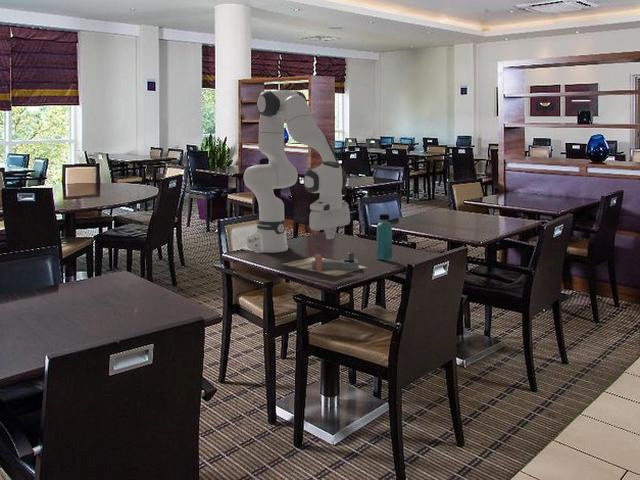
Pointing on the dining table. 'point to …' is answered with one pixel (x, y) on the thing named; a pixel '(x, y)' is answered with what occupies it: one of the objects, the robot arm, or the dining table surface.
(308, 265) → the base board
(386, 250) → the beverage bottle
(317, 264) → the keeper
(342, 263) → the link
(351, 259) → the pintle
